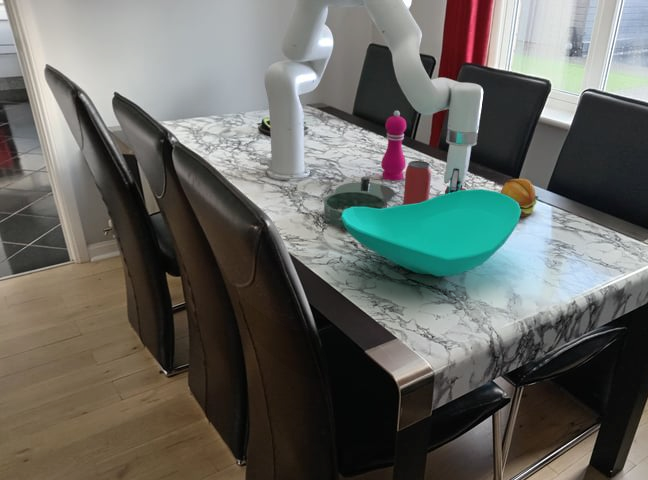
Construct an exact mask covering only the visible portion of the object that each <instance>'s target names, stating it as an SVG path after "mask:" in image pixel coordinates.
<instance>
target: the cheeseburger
mask: <svg viewBox="0 0 648 480" xmlns="http://www.w3.org/2000/svg"><path fill="white" fill-rule="evenodd" d="M500 193H501V194H504V195H507V196H509V197H511V198H512V199H513V200H515V201H516V202H518V204H519V207H520V209H521V214H520V217H527V216H530V215H532V213H534V209H535V206H536V204H537V203H538V202H537V200H538V199H539V196H538V195H536V190H535V188H534V185H533V183H532V182H531V181H530V180H528V179H525V178H514V179H509V180H507V181H506V182H505V183H504V184H503V186H502V188H501V190H500Z"/></svg>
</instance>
